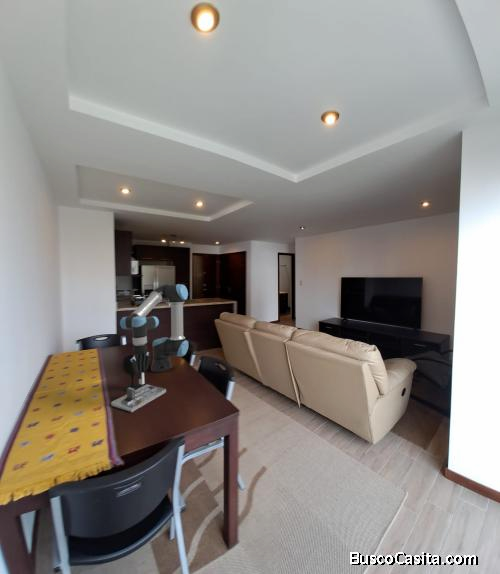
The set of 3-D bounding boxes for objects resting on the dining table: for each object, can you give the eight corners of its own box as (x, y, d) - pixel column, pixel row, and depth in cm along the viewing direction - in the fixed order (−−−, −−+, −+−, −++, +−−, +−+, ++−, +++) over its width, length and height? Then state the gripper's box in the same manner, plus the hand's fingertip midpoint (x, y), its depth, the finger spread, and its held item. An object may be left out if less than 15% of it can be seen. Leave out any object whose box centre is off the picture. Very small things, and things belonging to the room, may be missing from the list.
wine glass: (121, 392, 146) (120, 360, 145) (125, 385, 156) (124, 355, 155) (140, 390, 149) (139, 358, 148) (143, 383, 159) (142, 353, 158)
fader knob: (130, 397, 135) (130, 387, 135) (135, 399, 133) (135, 388, 133) (126, 399, 133) (126, 388, 132) (131, 401, 131) (131, 390, 131)
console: (147, 387, 153) (146, 382, 153) (166, 392, 146) (165, 387, 146) (111, 405, 131) (111, 400, 131) (131, 412, 124) (131, 406, 124)
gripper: (144, 340, 146) (146, 377, 147) (125, 346, 134) (127, 387, 135) (153, 341, 142) (155, 380, 144) (134, 347, 131) (136, 389, 132)
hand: (141, 383), depth 140 cm, fingers closed
